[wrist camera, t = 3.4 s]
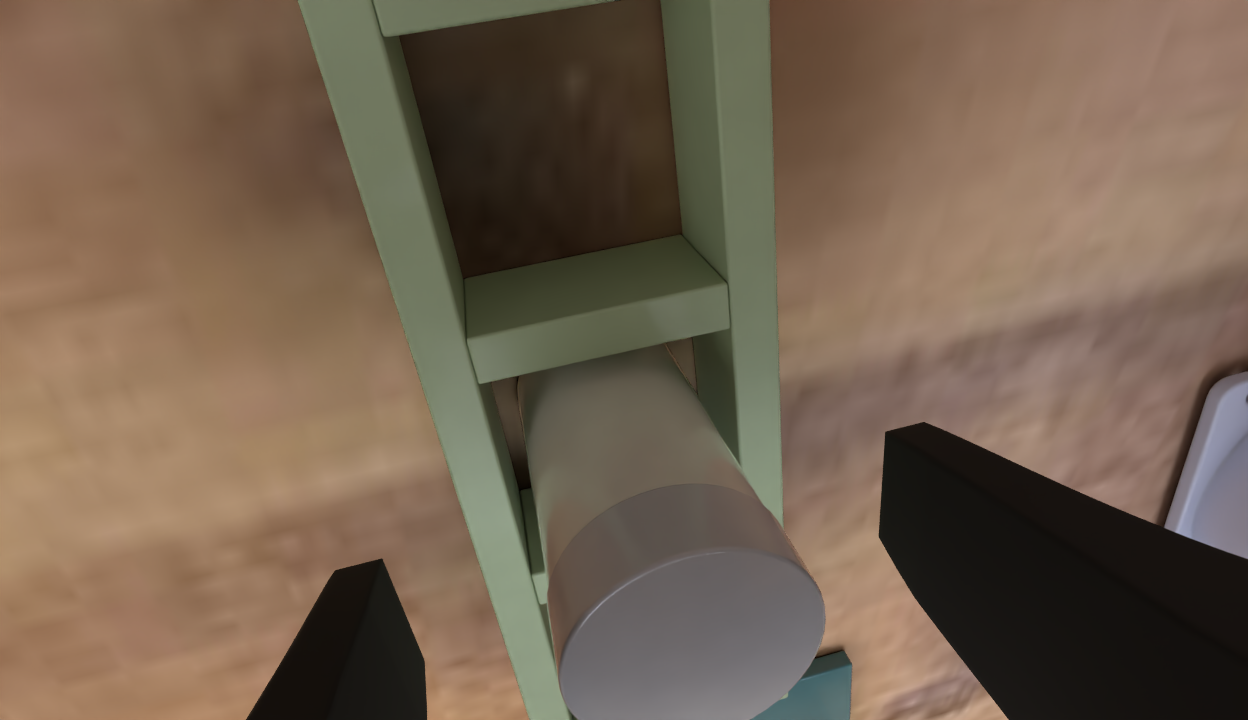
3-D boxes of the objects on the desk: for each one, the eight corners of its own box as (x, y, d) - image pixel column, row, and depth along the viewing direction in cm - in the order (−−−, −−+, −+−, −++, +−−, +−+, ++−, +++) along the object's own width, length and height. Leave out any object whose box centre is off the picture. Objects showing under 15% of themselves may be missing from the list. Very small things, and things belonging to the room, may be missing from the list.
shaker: (669, 294, 13) (829, 516, 8) (685, 435, 15) (826, 704, 9) (497, 331, 13) (533, 595, 7) (532, 472, 15) (583, 777, 9)
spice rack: (703, -81, 11) (768, -99, 8) (748, 612, 18) (789, 698, 16) (323, -26, 10) (286, -29, 8) (533, 672, 17) (545, 770, 15)
